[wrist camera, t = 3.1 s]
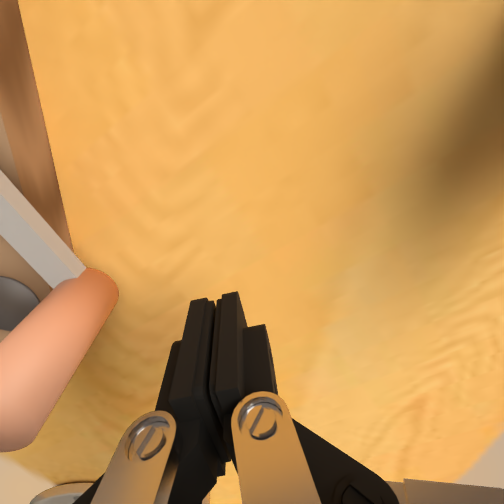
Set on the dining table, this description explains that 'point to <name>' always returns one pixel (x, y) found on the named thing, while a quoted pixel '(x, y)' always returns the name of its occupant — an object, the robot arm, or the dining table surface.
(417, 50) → the dining table surface
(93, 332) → the crank handle
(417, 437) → the dining table surface
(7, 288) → the wooden peg board
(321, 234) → the dining table surface
